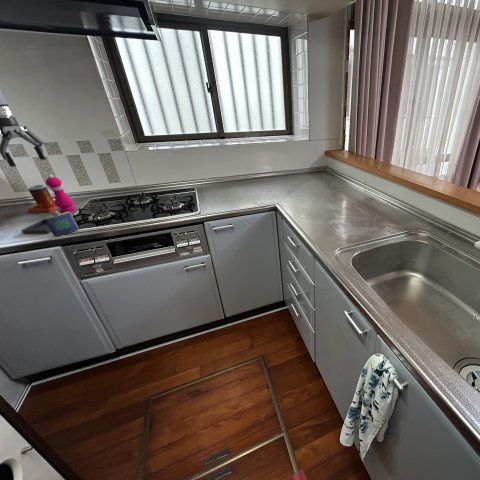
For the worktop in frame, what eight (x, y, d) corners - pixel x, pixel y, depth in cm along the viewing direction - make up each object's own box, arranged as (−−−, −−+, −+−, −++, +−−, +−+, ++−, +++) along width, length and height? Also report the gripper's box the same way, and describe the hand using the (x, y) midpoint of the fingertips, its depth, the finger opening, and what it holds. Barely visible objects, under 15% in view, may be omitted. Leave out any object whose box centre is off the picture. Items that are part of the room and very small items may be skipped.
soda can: (45, 205, 151) (34, 184, 145) (59, 204, 152) (48, 184, 146) (36, 210, 145) (23, 189, 139) (50, 209, 146) (38, 188, 140)
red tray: (29, 212, 144) (27, 209, 143) (47, 204, 153) (45, 201, 153) (50, 212, 144) (48, 209, 143) (66, 204, 154) (65, 201, 153)
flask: (78, 227, 127) (67, 207, 122) (80, 229, 126) (69, 208, 120) (53, 235, 121) (40, 214, 116) (55, 237, 119) (42, 215, 114)
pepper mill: (69, 213, 143) (50, 176, 132) (56, 213, 143) (36, 176, 133) (80, 207, 149) (62, 172, 139) (67, 207, 149) (49, 172, 139)
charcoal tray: (23, 233, 123) (21, 230, 122) (44, 223, 132) (42, 219, 131) (47, 233, 123) (45, 229, 122) (67, 222, 133) (65, 219, 132)
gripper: (-25, 120, 113) (5, 169, 124) (38, 114, 134) (59, 157, 145) (-39, 119, 114) (-7, 169, 125) (26, 114, 135) (48, 156, 146)
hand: (29, 162), depth 135 cm, fingers open, 13 cm apart
